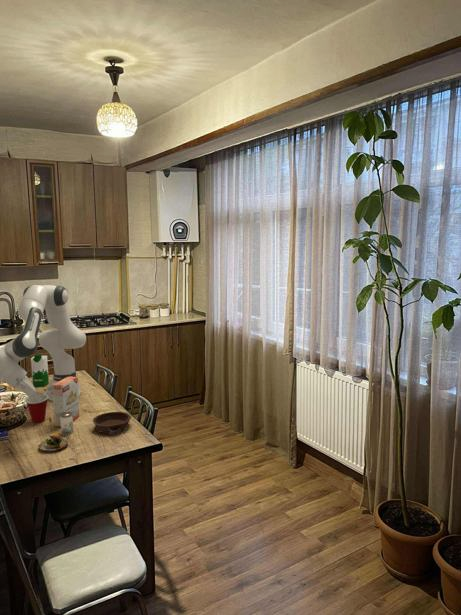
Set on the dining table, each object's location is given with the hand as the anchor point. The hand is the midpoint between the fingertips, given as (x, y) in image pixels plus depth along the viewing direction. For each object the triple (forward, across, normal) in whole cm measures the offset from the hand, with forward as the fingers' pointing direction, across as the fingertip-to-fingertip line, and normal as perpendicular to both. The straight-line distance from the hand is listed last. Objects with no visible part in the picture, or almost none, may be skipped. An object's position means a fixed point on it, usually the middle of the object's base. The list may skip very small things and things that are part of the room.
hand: (39, 397), depth 207 cm
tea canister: (+21, 0, +3) cm, 21 cm away
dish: (+34, -5, -12) cm, 36 cm away
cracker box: (+21, +13, +1) cm, 25 cm away
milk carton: (+14, +83, +1) cm, 84 cm away
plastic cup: (+13, +21, +10) cm, 27 cm away
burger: (+17, -14, +10) cm, 24 cm away
